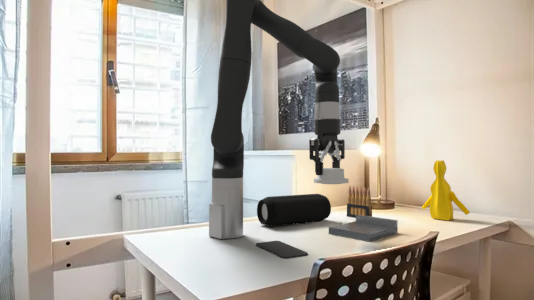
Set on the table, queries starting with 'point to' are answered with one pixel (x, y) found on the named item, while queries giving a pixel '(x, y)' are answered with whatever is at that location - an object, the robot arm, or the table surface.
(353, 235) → the plate
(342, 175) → the mechanical component
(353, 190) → the ammunition clip
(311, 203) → the portable speaker
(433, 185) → the figure statuette
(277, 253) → the phone
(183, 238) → the table surface
